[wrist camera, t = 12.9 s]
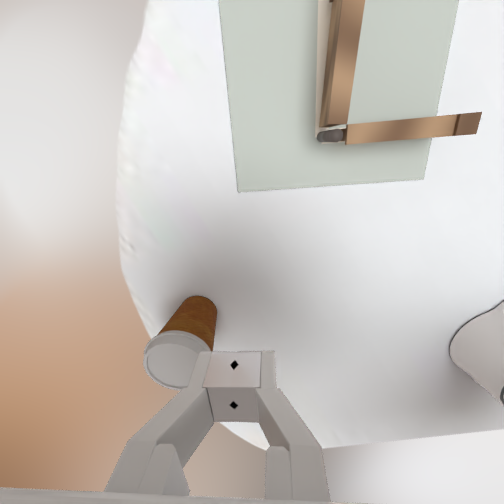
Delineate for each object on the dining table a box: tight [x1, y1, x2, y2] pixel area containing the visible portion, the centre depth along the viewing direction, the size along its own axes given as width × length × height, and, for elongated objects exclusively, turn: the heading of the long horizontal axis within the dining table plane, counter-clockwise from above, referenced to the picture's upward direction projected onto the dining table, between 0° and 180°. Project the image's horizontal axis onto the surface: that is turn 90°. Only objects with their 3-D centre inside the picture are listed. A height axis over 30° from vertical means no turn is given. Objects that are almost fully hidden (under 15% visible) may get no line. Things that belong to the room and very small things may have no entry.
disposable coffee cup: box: [143, 296, 217, 390], centre depth 38 cm, size 10×10×12 cm
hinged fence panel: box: [319, 0, 365, 127], centre depth 24 cm, size 13×2×6 cm, turn 0°
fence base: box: [317, 112, 482, 145], centre depth 26 cm, size 14×2×7 cm, turn 95°
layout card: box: [219, 0, 459, 192], centre depth 29 cm, size 24×20×1 cm
